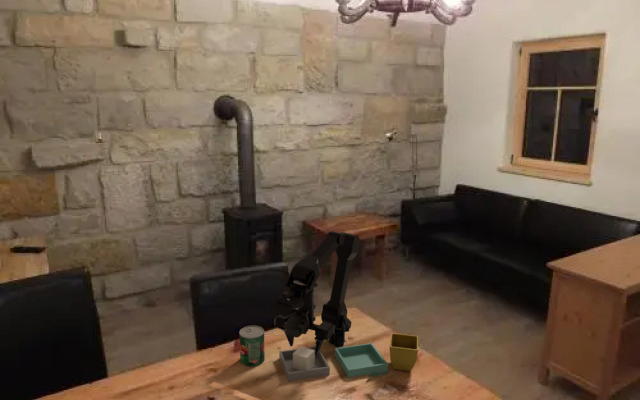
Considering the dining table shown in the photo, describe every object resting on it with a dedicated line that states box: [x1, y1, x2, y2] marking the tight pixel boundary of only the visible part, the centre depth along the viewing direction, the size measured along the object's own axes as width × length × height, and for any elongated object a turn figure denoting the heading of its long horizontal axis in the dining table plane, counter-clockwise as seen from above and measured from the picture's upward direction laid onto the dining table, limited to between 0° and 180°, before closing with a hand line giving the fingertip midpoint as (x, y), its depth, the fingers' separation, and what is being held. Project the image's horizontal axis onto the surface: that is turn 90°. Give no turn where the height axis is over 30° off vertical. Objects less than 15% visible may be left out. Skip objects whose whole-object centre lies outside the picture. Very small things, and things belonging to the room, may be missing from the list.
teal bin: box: [334, 342, 389, 378], centre depth 150 cm, size 13×13×4 cm
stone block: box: [293, 345, 315, 371], centre depth 148 cm, size 5×5×5 cm
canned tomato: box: [238, 325, 266, 368], centre depth 151 cm, size 8×8×11 cm
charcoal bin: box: [278, 345, 331, 382], centre depth 148 cm, size 13×13×4 cm
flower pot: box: [389, 332, 419, 372], centre depth 150 cm, size 9×9×9 cm
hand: (304, 349), depth 147 cm, fingers open, 9 cm apart
